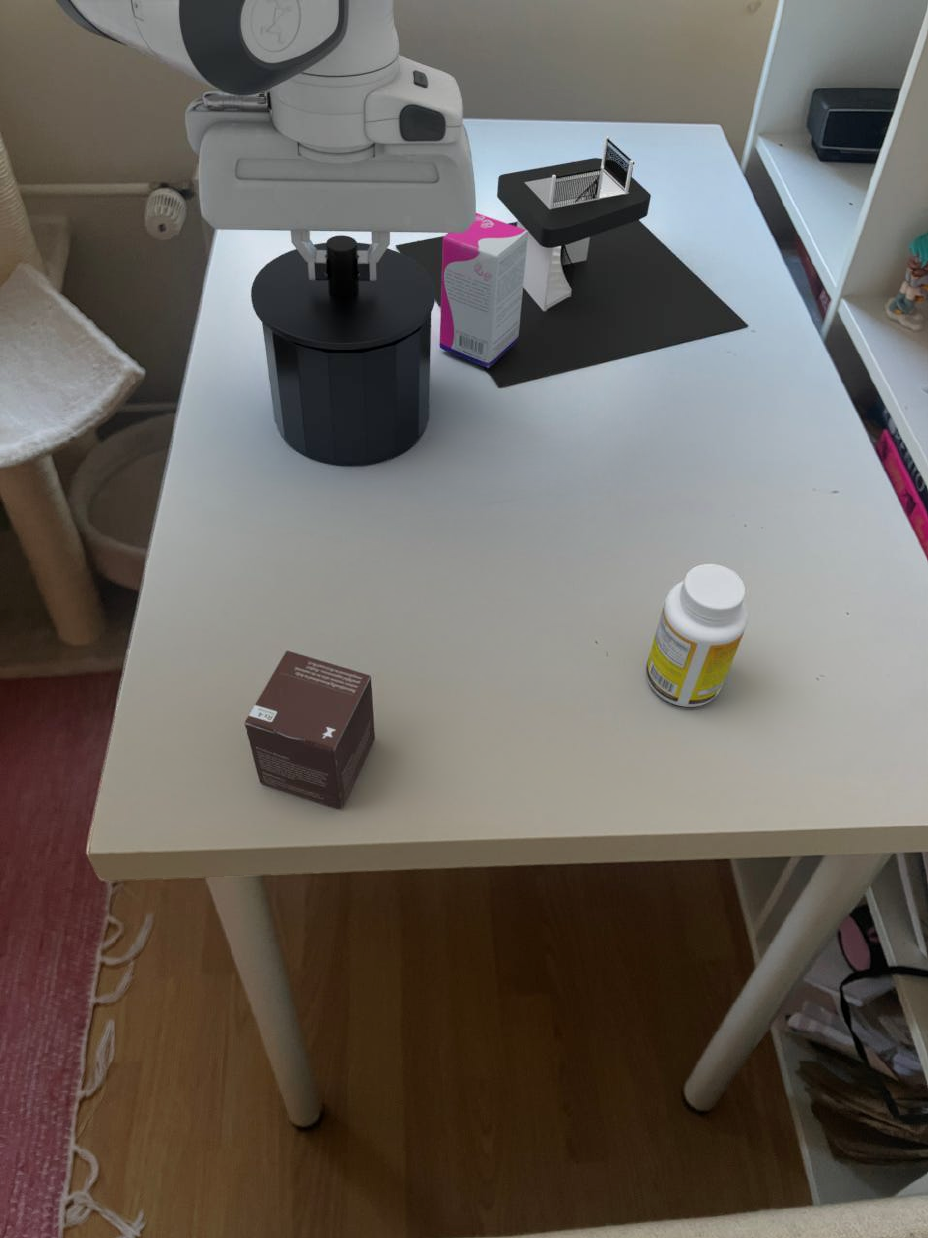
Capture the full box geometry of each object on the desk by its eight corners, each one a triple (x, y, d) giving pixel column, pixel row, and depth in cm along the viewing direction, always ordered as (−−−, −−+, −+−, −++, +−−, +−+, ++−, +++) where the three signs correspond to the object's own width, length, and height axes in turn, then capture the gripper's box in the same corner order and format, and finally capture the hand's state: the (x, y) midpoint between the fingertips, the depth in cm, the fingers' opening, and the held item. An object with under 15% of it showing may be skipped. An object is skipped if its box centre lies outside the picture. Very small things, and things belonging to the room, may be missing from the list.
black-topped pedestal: (499, 388, 93) (510, 256, 83) (395, 246, 108) (393, 120, 98) (748, 326, 102) (786, 200, 91) (619, 202, 116) (640, 82, 106)
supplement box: (520, 339, 98) (531, 229, 89) (488, 369, 94) (496, 258, 85) (470, 319, 99) (476, 209, 91) (436, 348, 96) (439, 236, 87)
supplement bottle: (725, 660, 74) (763, 566, 66) (715, 719, 71) (754, 627, 63) (651, 640, 75) (680, 545, 67) (637, 698, 71) (665, 605, 63)
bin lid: (245, 356, 76) (237, 295, 72) (258, 253, 85) (252, 194, 81) (438, 357, 77) (440, 297, 73) (430, 255, 86) (432, 197, 82)
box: (377, 739, 68) (374, 675, 63) (341, 813, 65) (335, 752, 59) (295, 712, 69) (285, 647, 64) (256, 784, 66) (241, 721, 60)
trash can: (271, 467, 85) (255, 352, 76) (280, 369, 94) (266, 256, 85) (431, 465, 86) (434, 352, 77) (425, 368, 95) (427, 257, 86)
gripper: (174, 111, 66) (205, 298, 76) (484, 118, 67) (472, 300, 78) (185, 71, 70) (213, 253, 80) (477, 78, 71) (467, 256, 82)
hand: (343, 276), depth 79 cm, fingers closed on bin lid, 2 cm apart
